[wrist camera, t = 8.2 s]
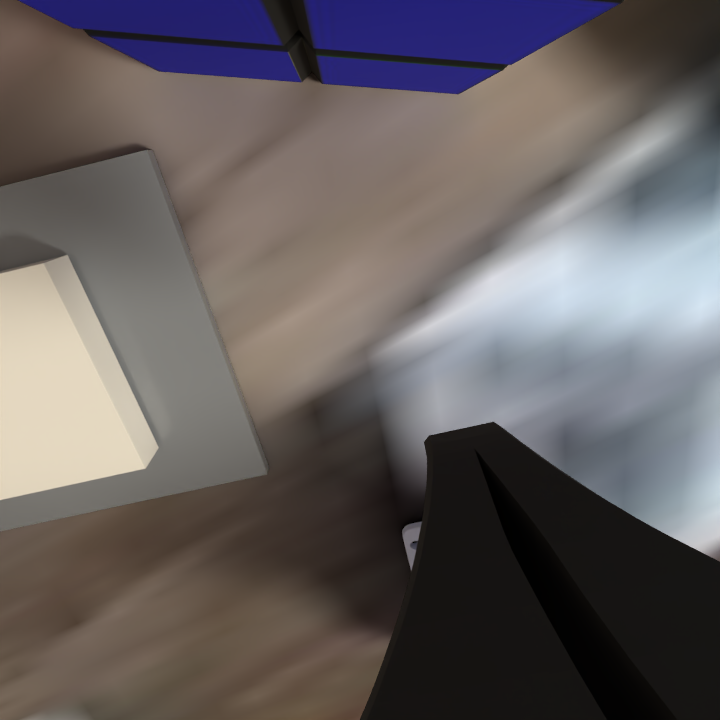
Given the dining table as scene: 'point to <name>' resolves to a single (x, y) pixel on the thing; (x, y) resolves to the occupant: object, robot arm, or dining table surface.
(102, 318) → the slate mat
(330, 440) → the dining table surface
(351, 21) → the puzzle cube
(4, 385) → the block
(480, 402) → the dining table surface
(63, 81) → the dining table surface
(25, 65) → the dining table surface
